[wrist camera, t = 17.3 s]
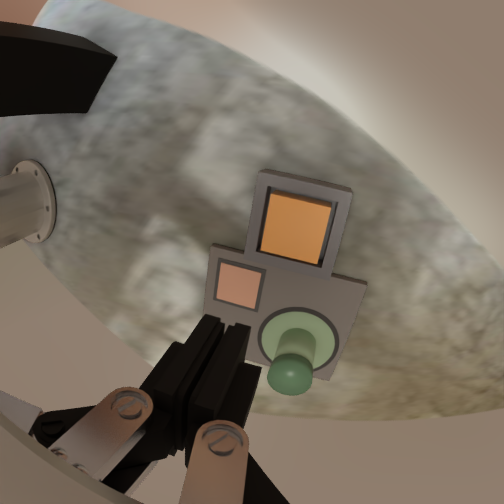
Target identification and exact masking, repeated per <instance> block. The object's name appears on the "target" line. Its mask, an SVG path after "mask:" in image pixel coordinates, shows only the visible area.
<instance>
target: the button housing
mask: <svg viewBox="0 0 504 504" xmlns="http://www.w3.org/2000/svg"><path fill="white" fill-rule="evenodd" d="M275 190H280V191H284V192H289V193H293V194H298V195H302V196H306V197H311V198H315V199H319V200H323V201H327V202H331V211H330V215H329V219H328V223H327V227H326V231H325V235H324V239H323V243H322V247H321V251H320V255H319V259H318V263H317V264H314V263H310V262H306V261H302V260H298V259H294V258H290V257H286V256H282V255H278V254H274V253H270V252H266V251H262V250H261V245H262V239H263V234H264V229H265V223H266V218H267V212H268V207H269V202H270V196H271V193H273V192H274V191H275ZM352 195H353V192H352V190H351V188H348V187H344V186H340V185H336V184H332V183H328V182H323V181H319V180H315V179H311V178H306V177H302V176H297V175H293V174H288V173H283V172H279V171H274V170H269V169H264V170H261V171H259V172H258V175H257V180H256V186H255V192H254V198H253V204H252V210H251V216H250V222H249V227H248V233H247V239H246V245H245V251H244V257H243V259H245V260H249V261H252V262H256V263H260V264H264V265H268V266H272V267H276V268H280V269H284V270H288V271H292V272H296V273H300V274H304V275H308V276H312V277H316V278H320V279H324V280H328V281H330V278H331V274H332V271H333V267H334V264H335V260H336V257H337V253H338V250H339V246H340V242H341V239H342V235H343V231H344V227H345V223H346V220H347V216H348V212H349V208H350V204H351V199H352Z"/></svg>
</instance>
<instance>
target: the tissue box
mask: <svg viewBox="0 0 504 504" xmlns="http://www.w3.org/2000/svg"><path fill="white" fill-rule="evenodd" d="M116 58H117V57H116V56H115V55H113V54H111V53H110V52H108V51H106V50H105V49H103V48H101V47H100V46H98V45H96V44H95V43H93V42H91V41H89V40H88V39H86V38H84V37H81V36H77V35H73V34H69V33H65V32H60V31H55V30H51V29H46V28H41V27H35V26H29V25H23V24H17V23H9V22H2V21H0V117H6V116H18V115H33V114H58V113H87V111H88V109H89V107H90V105H91V103H92V101H93V99H94V97H95V95H96V93H97V92H98V90H99V88H100V86H101V84H102V82H103V80H104V79H105V77H106V75H107V73H108V72H109V70H110V68H111V66H112V65H113V63H114V61H115V60H116Z"/></svg>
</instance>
